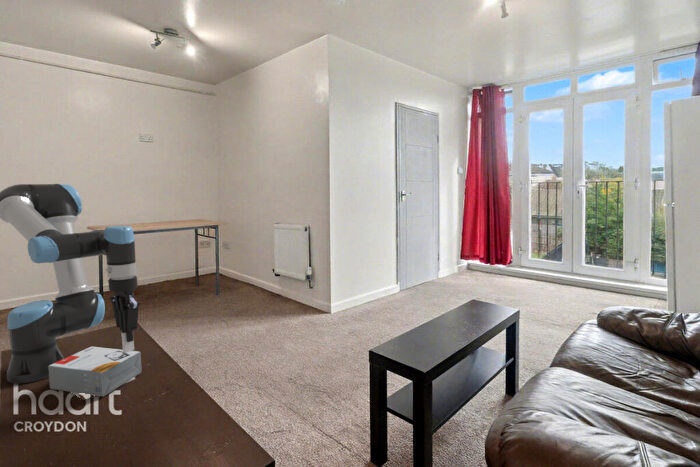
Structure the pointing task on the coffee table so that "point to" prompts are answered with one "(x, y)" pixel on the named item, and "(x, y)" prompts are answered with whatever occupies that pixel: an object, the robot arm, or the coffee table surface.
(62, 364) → the hard drive box
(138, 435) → the coffee table surface
